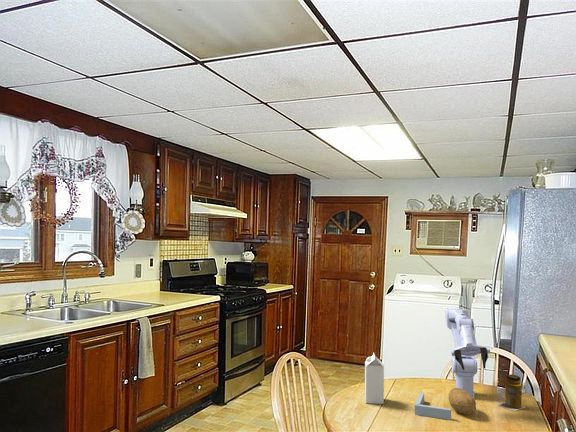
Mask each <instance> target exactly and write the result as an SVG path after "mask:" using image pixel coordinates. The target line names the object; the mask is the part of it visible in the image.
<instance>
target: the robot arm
mask: <svg viewBox="0 0 576 432" xmlns="http://www.w3.org/2000/svg"><path fill="white" fill-rule="evenodd" d="M444 313H445V324H446V327H447V328H448V329H449V330H450V331H451V333H452V336H453V343H454V347H455V348H452V349H450V352H451V370H452V371H451V372H453V373H454V374H455V388H460V389H463V390H465V391H466V392H467V393H469V394H470V395H471V396H472V397H473V398H474V399H475V394H476V393H475V390H474V377H475V375H476V374H477V373H478V361H477V359H476V357H475V356H478V355H481V357H480V358H481V361H482V366H483V369H486V363H487V361H488V359H489V354H491V349H490V346H489V345H488V346H485V345H480V344H477V340H476V336H475V323H474V319H473V318H469V311H468V309H466V308H464V309H463V308H462V309H461V308H449V307H448V308H446V309H445V312H444Z"/></svg>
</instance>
